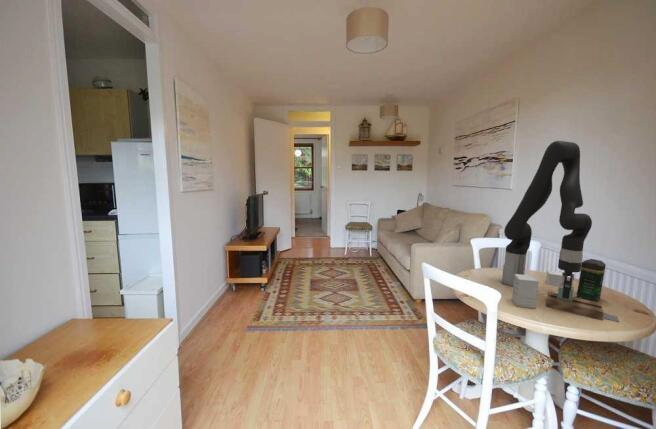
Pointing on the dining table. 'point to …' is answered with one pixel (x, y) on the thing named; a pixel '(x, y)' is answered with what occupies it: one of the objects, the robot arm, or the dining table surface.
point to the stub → (560, 292)
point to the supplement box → (525, 290)
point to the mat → (610, 317)
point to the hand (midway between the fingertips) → (565, 294)
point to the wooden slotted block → (576, 306)
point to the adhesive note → (554, 278)
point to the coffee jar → (591, 279)
